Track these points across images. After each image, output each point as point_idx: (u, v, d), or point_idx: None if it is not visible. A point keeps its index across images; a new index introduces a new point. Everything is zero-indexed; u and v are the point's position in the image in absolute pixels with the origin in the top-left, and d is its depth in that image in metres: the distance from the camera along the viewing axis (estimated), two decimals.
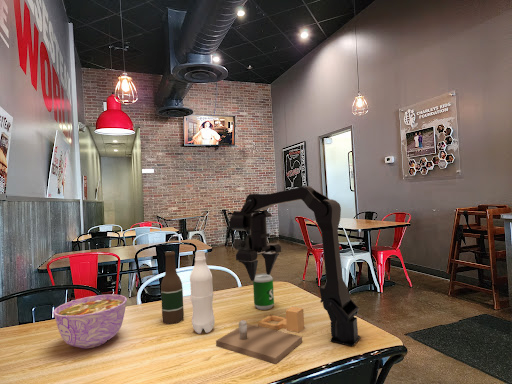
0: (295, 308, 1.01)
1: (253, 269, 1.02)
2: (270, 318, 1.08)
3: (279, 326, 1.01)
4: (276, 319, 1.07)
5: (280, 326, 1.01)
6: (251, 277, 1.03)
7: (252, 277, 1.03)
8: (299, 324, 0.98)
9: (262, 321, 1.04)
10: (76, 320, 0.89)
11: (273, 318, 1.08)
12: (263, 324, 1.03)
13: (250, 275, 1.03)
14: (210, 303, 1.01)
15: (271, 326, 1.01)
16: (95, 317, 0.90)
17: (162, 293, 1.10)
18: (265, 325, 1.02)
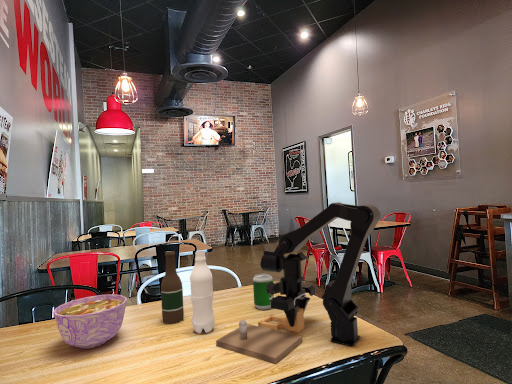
0: None
1: (293, 315, 0.96)
2: (270, 318, 1.08)
3: (279, 326, 1.01)
4: (276, 319, 1.07)
5: (280, 326, 1.01)
6: (290, 323, 0.98)
7: (291, 323, 0.98)
8: (299, 324, 0.98)
9: (262, 321, 1.04)
10: (76, 320, 0.89)
11: (273, 318, 1.08)
12: (263, 324, 1.03)
13: (289, 320, 0.98)
14: (210, 303, 1.01)
15: (271, 326, 1.01)
16: (95, 317, 0.90)
17: (162, 293, 1.10)
18: (265, 325, 1.02)
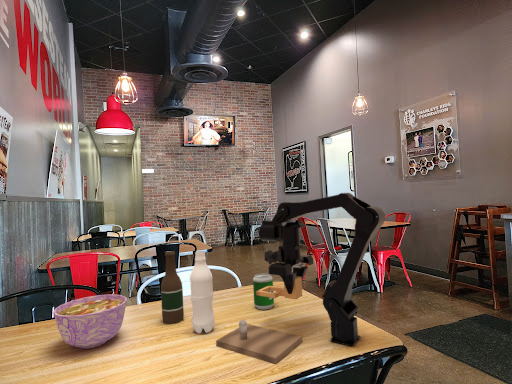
0: None
1: (291, 282, 0.96)
2: (268, 288, 1.08)
3: (277, 294, 1.01)
4: (274, 289, 1.07)
5: (278, 294, 1.01)
6: (288, 290, 0.98)
7: (289, 290, 0.98)
8: (297, 292, 0.98)
9: (260, 290, 1.04)
10: (76, 321, 0.89)
11: (271, 288, 1.08)
12: (261, 293, 1.03)
13: (287, 288, 0.98)
14: (210, 303, 1.01)
15: (269, 294, 1.01)
16: (95, 318, 0.90)
17: (162, 293, 1.10)
18: (263, 294, 1.02)
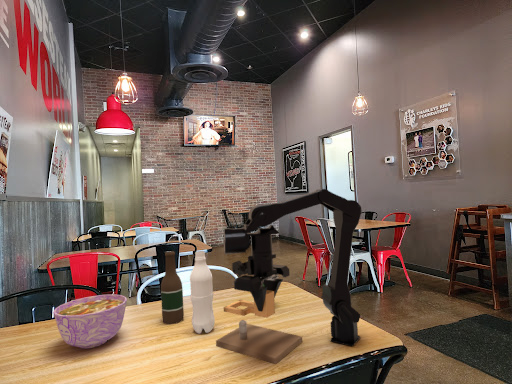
0: None
1: (261, 298, 0.84)
2: (239, 303, 0.95)
3: (246, 311, 0.88)
4: (245, 304, 0.94)
5: (248, 311, 0.88)
6: (259, 307, 0.85)
7: (259, 307, 0.85)
8: (268, 309, 0.85)
9: (228, 306, 0.92)
10: (76, 320, 0.89)
11: (242, 303, 0.95)
12: (229, 309, 0.90)
13: (257, 304, 0.85)
14: (210, 303, 1.01)
15: (237, 311, 0.88)
16: (95, 317, 0.90)
17: (162, 293, 1.10)
18: (231, 310, 0.90)
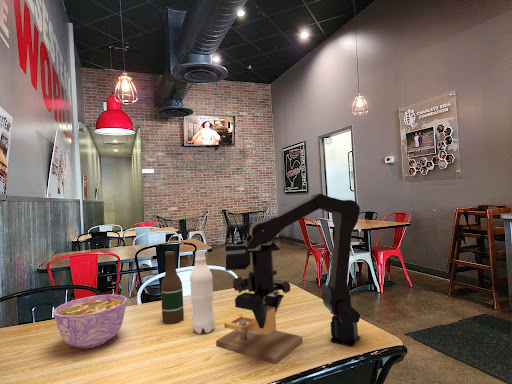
0: None
1: (262, 315, 0.83)
2: (239, 318, 0.95)
3: (247, 328, 0.88)
4: (246, 319, 0.94)
5: (249, 328, 0.88)
6: (260, 324, 0.85)
7: (260, 324, 0.85)
8: (269, 326, 0.85)
9: (229, 322, 0.92)
10: (76, 320, 0.89)
11: (243, 318, 0.95)
12: (230, 325, 0.90)
13: (258, 321, 0.85)
14: (210, 303, 1.01)
15: (238, 328, 0.88)
16: (95, 317, 0.90)
17: (162, 293, 1.10)
18: (232, 326, 0.89)
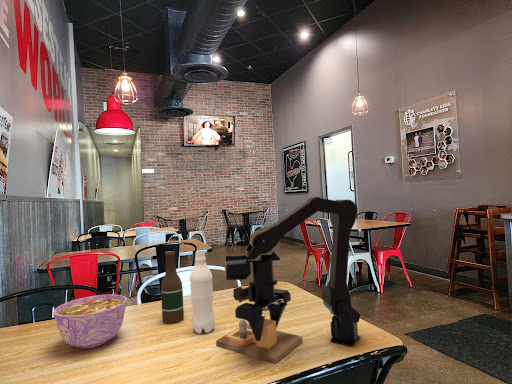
0: (266, 320, 0.88)
1: (259, 328, 0.82)
2: None
3: (248, 341, 0.88)
4: (247, 332, 0.94)
5: (249, 341, 0.88)
6: (256, 336, 0.84)
7: (257, 337, 0.84)
8: (270, 340, 0.85)
9: (230, 335, 0.91)
10: (76, 321, 0.89)
11: None
12: (230, 338, 0.90)
13: (255, 334, 0.84)
14: (210, 303, 1.01)
15: (239, 341, 0.88)
16: (95, 318, 0.90)
17: (162, 293, 1.10)
18: (232, 340, 0.89)
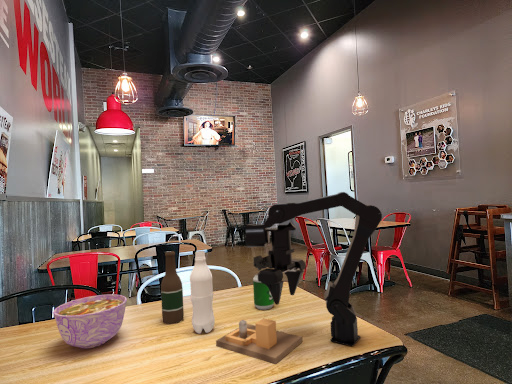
0: (266, 320, 0.88)
1: (278, 291, 0.88)
2: None
3: (248, 341, 0.88)
4: (247, 332, 0.94)
5: (249, 341, 0.88)
6: (275, 300, 0.90)
7: (276, 301, 0.90)
8: (270, 340, 0.85)
9: (230, 335, 0.91)
10: (76, 321, 0.89)
11: None
12: (230, 338, 0.90)
13: (274, 298, 0.90)
14: (210, 303, 1.01)
15: (239, 341, 0.88)
16: (95, 317, 0.90)
17: (162, 293, 1.10)
18: (232, 340, 0.89)
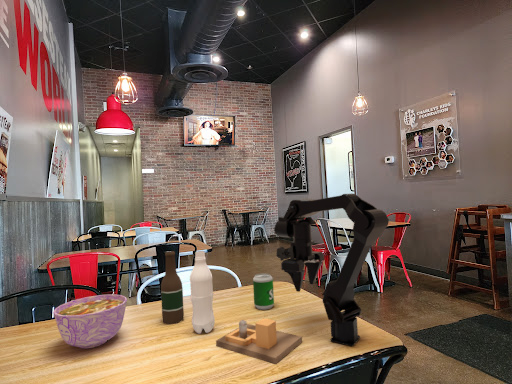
0: (266, 320, 0.88)
1: (300, 279, 0.97)
2: None
3: (248, 341, 0.88)
4: (247, 332, 0.94)
5: (249, 341, 0.88)
6: (297, 288, 0.98)
7: (297, 288, 0.98)
8: (270, 340, 0.85)
9: (230, 335, 0.91)
10: (76, 320, 0.89)
11: None
12: (230, 338, 0.90)
13: (296, 285, 0.98)
14: (210, 303, 1.01)
15: (239, 341, 0.88)
16: (95, 317, 0.90)
17: (162, 293, 1.10)
18: (232, 340, 0.89)
